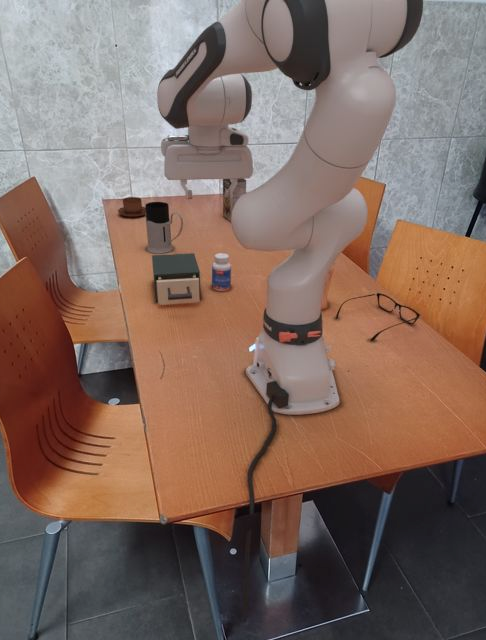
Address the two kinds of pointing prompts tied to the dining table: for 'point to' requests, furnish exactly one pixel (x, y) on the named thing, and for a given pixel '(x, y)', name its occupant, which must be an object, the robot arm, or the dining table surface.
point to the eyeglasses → (387, 311)
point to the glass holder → (159, 227)
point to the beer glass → (326, 287)
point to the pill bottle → (221, 272)
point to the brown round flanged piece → (132, 207)
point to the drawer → (178, 289)
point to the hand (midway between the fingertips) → (209, 198)
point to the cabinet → (174, 267)
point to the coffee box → (230, 202)
